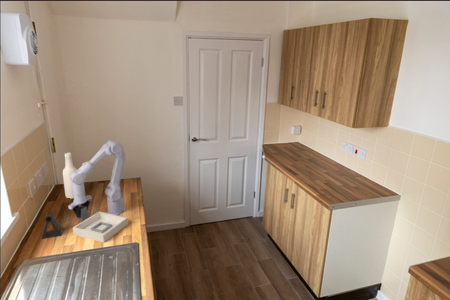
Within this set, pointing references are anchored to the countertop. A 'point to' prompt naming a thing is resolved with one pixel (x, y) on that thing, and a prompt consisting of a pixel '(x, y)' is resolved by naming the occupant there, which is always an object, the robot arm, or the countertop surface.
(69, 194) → the alcohol
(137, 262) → the countertop surface
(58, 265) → the countertop surface
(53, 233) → the phone stand
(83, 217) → the grey rectangular block
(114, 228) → the box
